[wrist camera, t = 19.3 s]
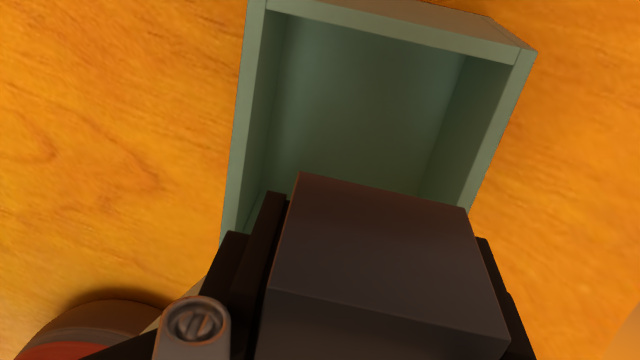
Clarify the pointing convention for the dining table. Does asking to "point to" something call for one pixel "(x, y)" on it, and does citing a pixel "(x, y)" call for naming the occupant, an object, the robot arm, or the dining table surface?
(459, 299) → the block
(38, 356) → the vase
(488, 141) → the cool box
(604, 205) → the dining table surface
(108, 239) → the dining table surface
